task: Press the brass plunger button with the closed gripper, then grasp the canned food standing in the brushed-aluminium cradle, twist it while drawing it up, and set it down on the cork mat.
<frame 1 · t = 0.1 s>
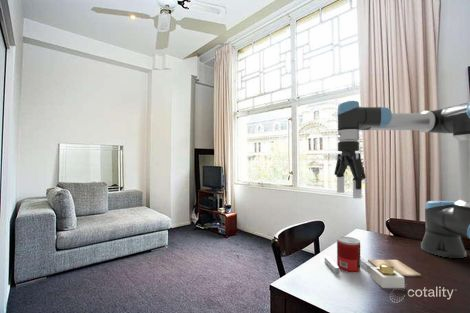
hand: (348, 195, 90), 28 cm above the table, fingers open, 13 cm apart
plunger block: (386, 282, 78), on the table
cradle: (348, 268, 88), on the table
mat: (392, 268, 88), on the table
canned food: (348, 268, 88), on the table
plunger: (386, 270, 78), point 4 cm above the table, slide at 0.0 cm
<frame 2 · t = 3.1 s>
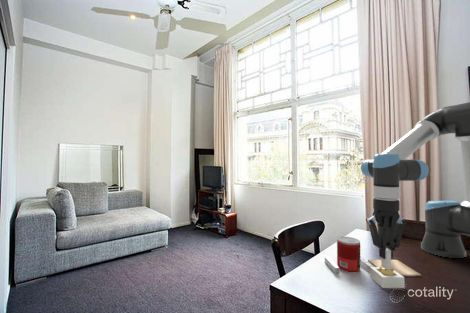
hand: (386, 267, 78), 5 cm above the table, fingers closed
plunger: (386, 272, 78), point 3 cm above the table, slide at 0.8 cm, touching gripper
everything else where it was.
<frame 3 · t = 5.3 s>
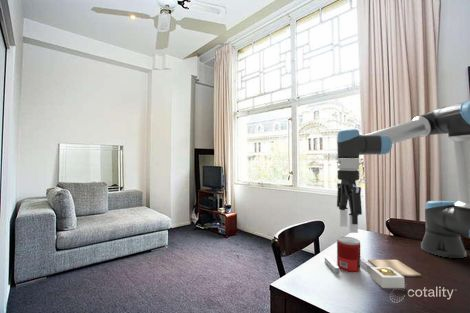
hand: (348, 229, 88), 15 cm above the table, fingers open, 7 cm apart
plunger: (386, 274, 78), point 3 cm above the table, slide at 1.5 cm
everything else where it was.
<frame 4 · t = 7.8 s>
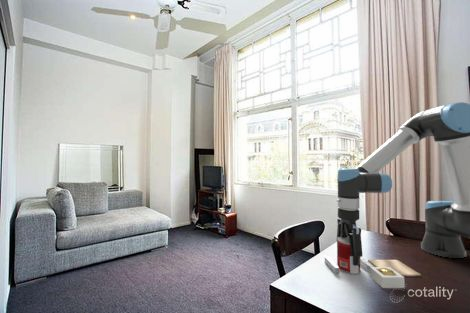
hand: (348, 267, 88), 0 cm above the table, fingers closed on canned food, 8 cm apart
canned food: (348, 268, 88), on the table, touching gripper
everything else where it was.
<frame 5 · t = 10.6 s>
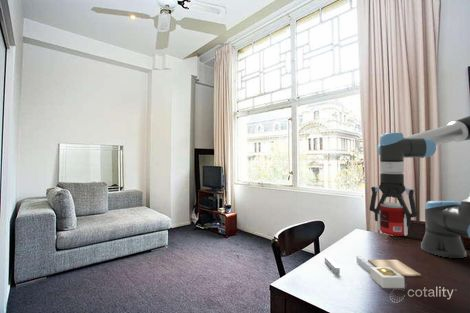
hand: (392, 232, 88), 14 cm above the table, fingers closed on canned food, 8 cm apart
canned food: (392, 233, 88), point 13 cm above the table, touching gripper
everything else where it was.
when the fingers open (2 cm above the table, at t = 13.3 s): canned food stays where it is, resting on mat.
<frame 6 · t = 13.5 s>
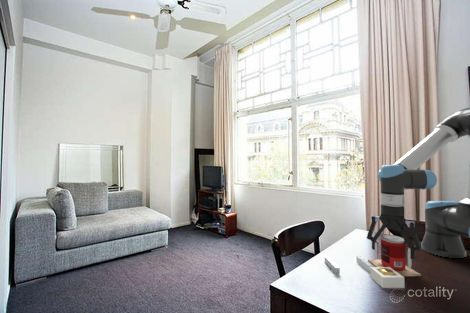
hand: (392, 262, 88), 2 cm above the table, fingers open, 10 cm apart
canned food: (393, 267, 88), resting on mat
everything else where it was.
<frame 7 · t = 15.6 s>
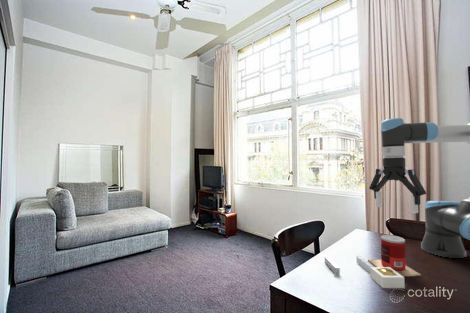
hand: (396, 209, 92), 22 cm above the table, fingers open, 13 cm apart
nothing on the table moved.
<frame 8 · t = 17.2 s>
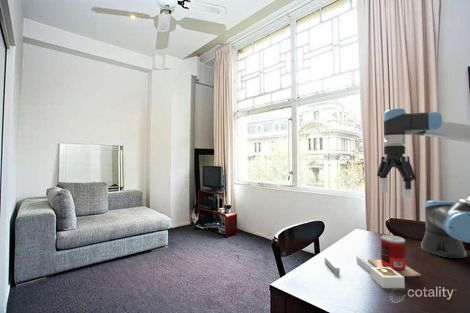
hand: (394, 194, 98), 27 cm above the table, fingers open, 13 cm apart
nothing on the table moved.
at the end: plunger slide at 1.5 cm; canned food inside the target area on the mat (0.2 cm from its centre), point 0.4 cm above the mat's base; canned food tilted 0° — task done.
